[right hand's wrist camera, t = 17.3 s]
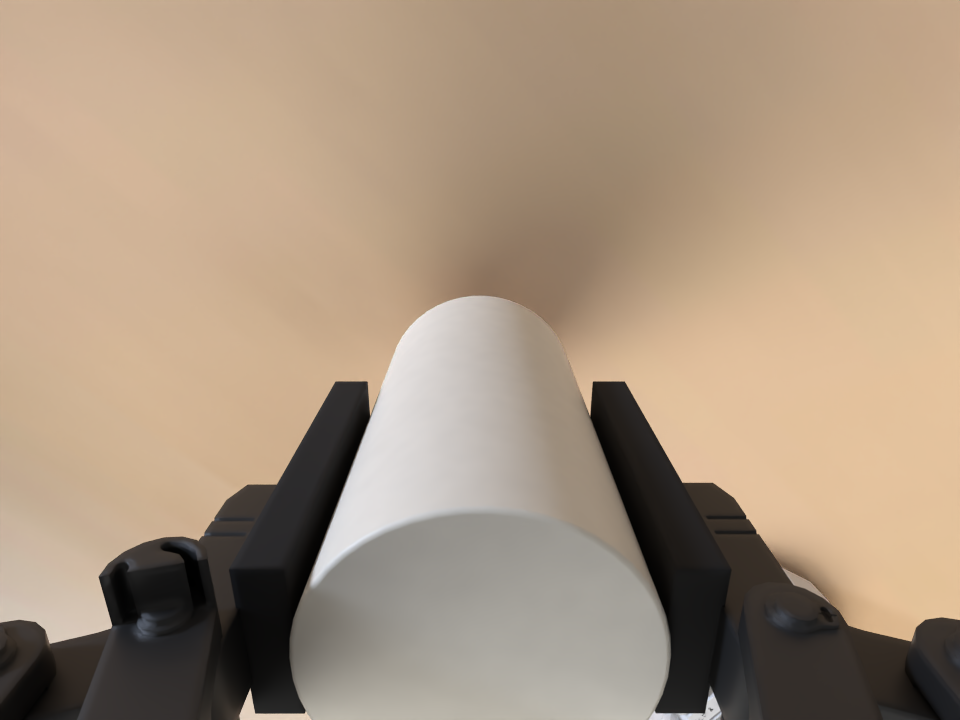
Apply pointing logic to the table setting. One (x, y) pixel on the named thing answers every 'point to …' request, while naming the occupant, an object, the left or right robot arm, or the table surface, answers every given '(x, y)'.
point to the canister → (480, 544)
